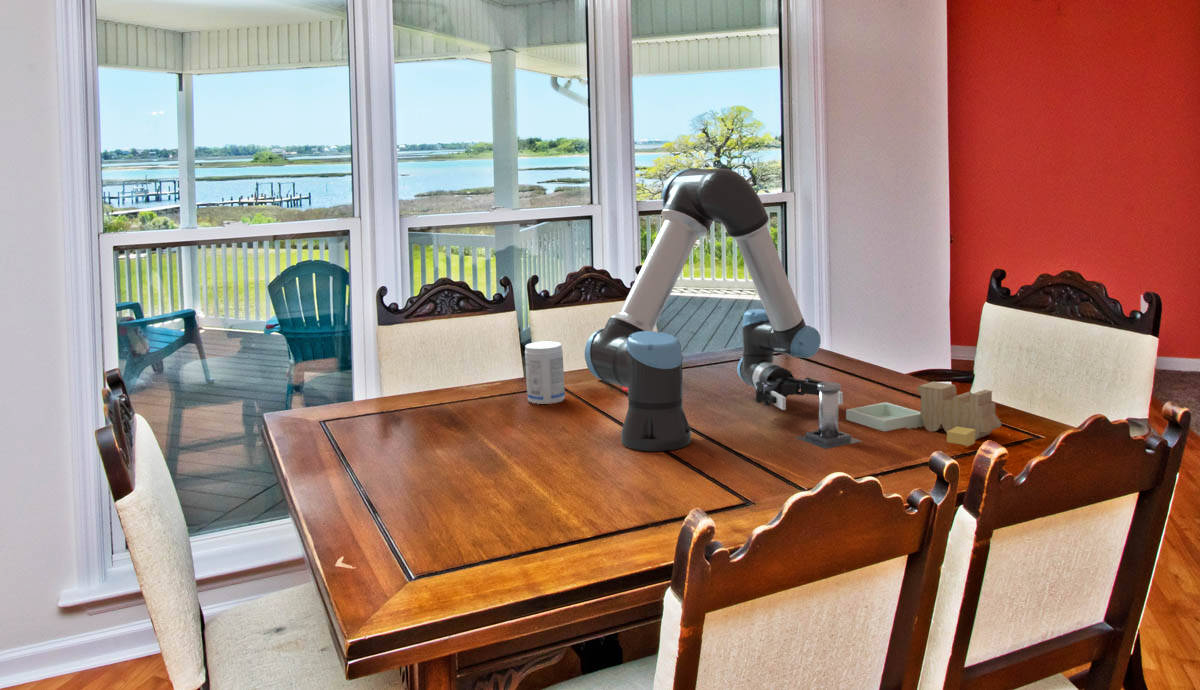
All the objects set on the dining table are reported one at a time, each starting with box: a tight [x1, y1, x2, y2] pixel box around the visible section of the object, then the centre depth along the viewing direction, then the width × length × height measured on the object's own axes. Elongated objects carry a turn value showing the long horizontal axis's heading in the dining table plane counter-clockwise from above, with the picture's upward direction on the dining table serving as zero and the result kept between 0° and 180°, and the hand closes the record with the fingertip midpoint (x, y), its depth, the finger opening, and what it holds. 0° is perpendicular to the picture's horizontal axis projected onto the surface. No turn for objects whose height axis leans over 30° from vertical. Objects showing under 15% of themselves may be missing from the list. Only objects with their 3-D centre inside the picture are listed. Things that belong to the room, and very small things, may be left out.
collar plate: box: [794, 429, 863, 450], centre depth 215 cm, size 10×10×2 cm
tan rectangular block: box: [946, 426, 976, 447], centre depth 212 cm, size 5×4×3 cm
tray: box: [845, 401, 924, 432], centre depth 228 cm, size 12×12×3 cm
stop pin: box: [817, 381, 842, 438], centre depth 214 cm, size 5×5×12 cm
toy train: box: [916, 381, 1002, 441], centre depth 220 cm, size 6×17×10 cm, turn 40°
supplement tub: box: [524, 340, 566, 405], centre depth 257 cm, size 10×10×15 cm
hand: (813, 401), depth 222 cm, fingers open, 13 cm apart
